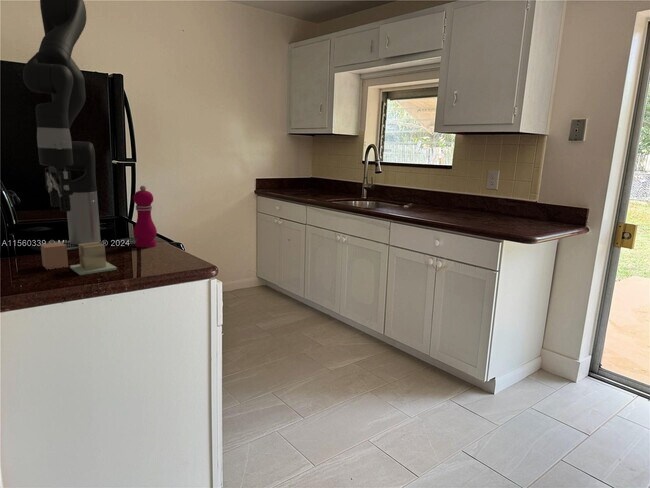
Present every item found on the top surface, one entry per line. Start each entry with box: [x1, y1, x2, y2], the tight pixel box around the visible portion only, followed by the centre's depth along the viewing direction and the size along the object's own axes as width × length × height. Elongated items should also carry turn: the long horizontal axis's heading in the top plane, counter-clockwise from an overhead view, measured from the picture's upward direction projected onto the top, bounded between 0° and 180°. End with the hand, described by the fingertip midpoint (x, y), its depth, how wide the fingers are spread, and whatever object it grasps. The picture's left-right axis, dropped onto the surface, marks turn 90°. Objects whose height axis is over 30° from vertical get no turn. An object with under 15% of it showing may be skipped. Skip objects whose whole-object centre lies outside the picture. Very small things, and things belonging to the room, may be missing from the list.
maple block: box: [77, 241, 107, 270], centre depth 119 cm, size 5×5×6 cm
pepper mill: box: [132, 185, 158, 248], centre depth 146 cm, size 7×7×20 cm
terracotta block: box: [40, 241, 69, 271], centre depth 120 cm, size 5×5×6 cm
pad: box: [69, 261, 118, 276], centre depth 119 cm, size 9×9×1 cm
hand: (60, 209), depth 118 cm, fingers open, 8 cm apart
